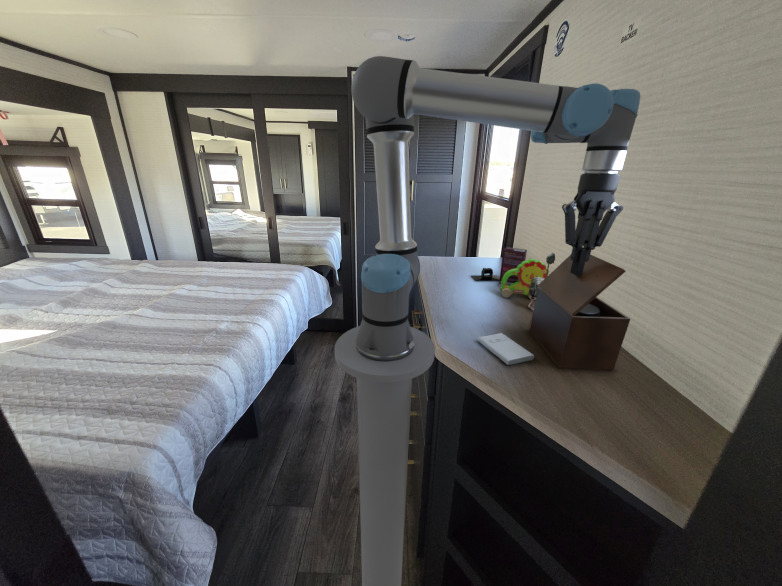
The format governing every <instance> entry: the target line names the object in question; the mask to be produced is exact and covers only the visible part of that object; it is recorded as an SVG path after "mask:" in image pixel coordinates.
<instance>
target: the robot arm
mask: <svg viewBox="0 0 782 586" xmlns="http://www.w3.org/2000/svg"><path fill="white" fill-rule="evenodd" d="M351 97H352V102H353V103H354V106H355V108H356V109H357V111H358V112H359V113H360V114H361V116H362V117H363V118H365V130H366V138H367V139H368V140H369V141H370V142H371V143H372V145H373V155H374V169H375V170H374V171H375V183H376V198H377V212H378V225H379V227H378V228H379V241H378V242H377V243H376V245H375V246H374V247H375V255H372V256H370V257H368V258H367V259H365V261H364V262H363V263H362V265H361V273H360V279H361V310H362V311H361V312H362V320H361V322H360V325H359V326H360V328H359V331H358V334H357V337H356V349H357V351H358V352H359V353H360V354H361V355H362V356H364V357H366V358H368V359H371V360H375V361H395V360H399V359H402V358H405V357H407V356H408V355H409V354H411V352H412V351H413V349H414V345H415V344H414V338H413V334H412V331H411V328H410V327H411V325H410V322H409V308H410V307H409V306H410V303H409V302H410V293H411V291H412V289H413V287H414V285H415V283H416V282H417V280H418V279H419V276H420V273H421V261H420V259H419V256H418V243H417V242H416V241H415V240H414V239H413V238H412V219H411V218H412V217H411V215H412V214H411V194H410V193H411V190H410V189H411V187H410V162H409V160H410V157H409V142H410V140H411V139H412V137H413V136H414V134H415V122H414V121H415V120H414V117H415V115H419V116H424V117H432V118H438V119H446V120H454V121H460V122H466V123H474V124H475V123H476V124H480V125H488V126H496V127H503V128H509V129H517V130H523V131H530V140H531V141H532V143H535V144H545V145H548V144H577V143H578V144H579V143H580V144H586V149H585V154H584V158H583V163H582V168H581V170H582V171H584V172H583V173H581V175H580V177H579V181H578V185H577V193H576V195H575V196H574V198H573V200H572V201H570V202H568V203H563V204H562V206H561V209H562V211H563V213H564V237H565V239H564V240H565V242H564V243H565V244H566V245H568V246H570V247H572V248H571V253H570V255H571V257H570V259H571V260H572V261H573V262H572V267H571V271H570V272H571V273H572V274H574V275H576V276H582V273H583V269H584V265H585V262H588V260H589V257H590V254H591V255H592V251H593V250H595V249H596V248H601V247H602V245H603V243H604V242H605V240H606V237H607V236H608V234H609V232H610V230H611V228H612V226H613V224H614V222H615V221H616V218H617V217H618V216H619V214H621V213H622V211H623V210H624V206H623V205H619V204H618V203H617V202H615V200H616V197H615V193H616V191H617V190H618V185H619V184H620V183H619V182H620V178H621V175H620V174H619V172H621V171H623V168H624V164H625V161H626V156H627V153H628V148H629V145H630V144H629V143H630V140H631V137H632V134H633V130H634V126H635V123H636V119H637V116H638V115H639V114H638V112H639V108H640V103H641V102H640V101H641V92H640V91H639V90H638V89H635V88H619V89H611V90H610V89H609V88H608V87H607V86H605V85H604V84H601V83H595V82H594V83H589V84H584V85H582V86H579V87H575V86H567V85H566V86H565V85H557V84H549V83H540V82H534V81H526V80H525V81H524V80H519V79H509V78H502V77H494V76H487V75H478V74H470V73H463V72H454V71H447V70H438V69H430V68H423V67H420V65H419V64H418V62H417V61H416V60H413V59H404V58H399V57H392V56H386V55H385V56H383V55H376V56H372V57H370V58H367V59H366V60H364V61H363V62H362V63H360V64H359V66H358V67H357V68H356V71H355V72H354V74H353V77H352V80H351ZM575 211H577V212H578V214H577V223H576V212H575ZM604 213H605V214H604Z"/></svg>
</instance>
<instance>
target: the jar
mask: <svg viewBox="0 0 782 586" xmlns="http://www.w3.org/2000/svg"><path fill="white" fill-rule="evenodd" d="M569 313H570V312H569ZM599 313H600V310H599V309H598V308H597V307H596V306H593V305H591V304H587V305H586V306H585V307H584V308H583V309H582V310H581V311H579V312H578V313H577V314H576V315H575V316H586V317H599Z"/></svg>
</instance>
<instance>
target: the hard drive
mask: <svg viewBox="0 0 782 586" xmlns="http://www.w3.org/2000/svg"><path fill="white" fill-rule="evenodd" d="M477 342H479V343H480V344H481V345H482V346H484V347H485V348H486V349H487V350H488V351H490V352H491V353H492V354H493V355H495V356H496V357H497V358H498V359H500V361H502V362H503V363H504V364H505V365H507V366H513V365H517V364H521V363H525V362H531V361H533V360H534V358H535V355H534V354H533V353H531V352H530V351H529V350H527V349H526V348H525V347H523V346H521V345H520V344H518V343H517V342H516V341H514V340H512V339H511V338H510V337H508V336H507V335H505V334H504V333H502V332H500V333H495V334H488V335H482V336H479V337H478V340H477Z"/></svg>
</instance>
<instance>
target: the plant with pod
mask: <svg viewBox="0 0 782 586" xmlns="http://www.w3.org/2000/svg"><path fill="white" fill-rule="evenodd" d="M555 261H556V254H555V253H554V252H551V253H550V254H548V255H547V256H546V259H545V262H546V264H547V275H546V277H547V276H548V275H549V273H548V270H549V268H550V265H552V264H555ZM531 277H532V276H531ZM544 279H545V278H541V277H535V278H532V280H531V284H530V288H529V295H530V296H531V297H532V300H531V299H530V300H529V303H528V306H527V308H529V310H530V311H532V312H533V311H534V306H535V303H533V301H535V300H534V297H535V298H536V297H537V292H538V288H540V287H539V286H538V285H539V284H540V283H541V282H542V281H543V280H544Z"/></svg>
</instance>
